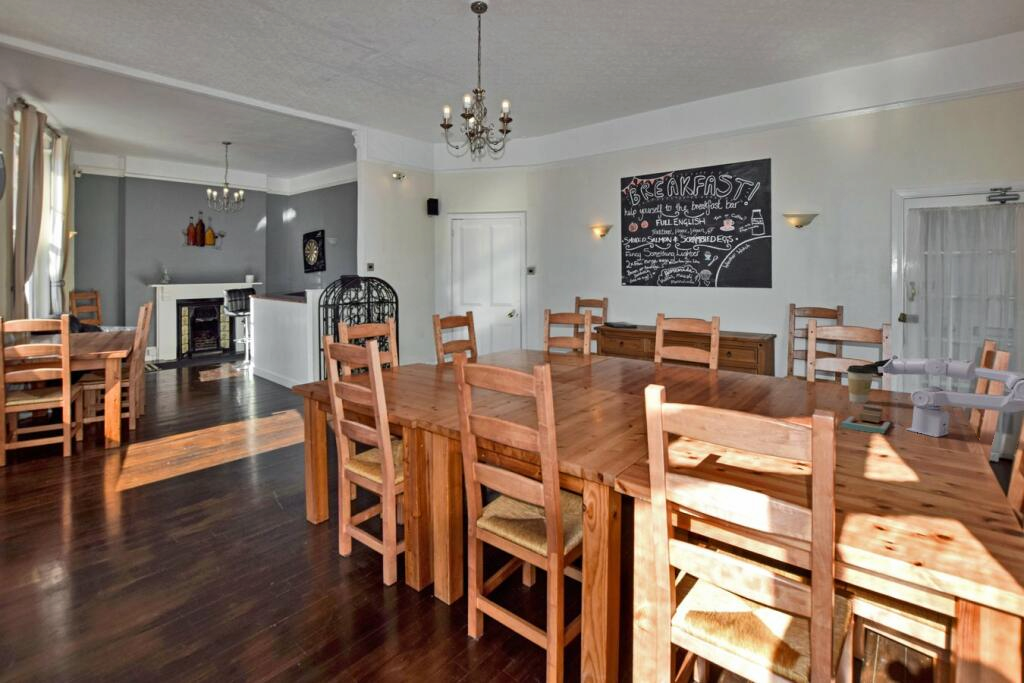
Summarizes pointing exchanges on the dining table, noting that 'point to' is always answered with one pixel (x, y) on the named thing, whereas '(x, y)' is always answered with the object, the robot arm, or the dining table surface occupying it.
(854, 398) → the coffee cup
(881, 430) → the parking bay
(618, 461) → the dining table surface
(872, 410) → the brown striped block
